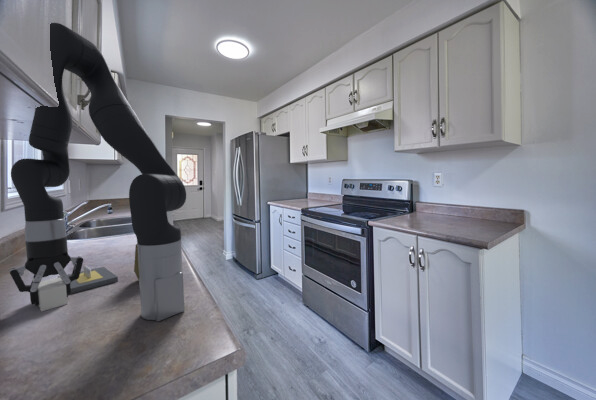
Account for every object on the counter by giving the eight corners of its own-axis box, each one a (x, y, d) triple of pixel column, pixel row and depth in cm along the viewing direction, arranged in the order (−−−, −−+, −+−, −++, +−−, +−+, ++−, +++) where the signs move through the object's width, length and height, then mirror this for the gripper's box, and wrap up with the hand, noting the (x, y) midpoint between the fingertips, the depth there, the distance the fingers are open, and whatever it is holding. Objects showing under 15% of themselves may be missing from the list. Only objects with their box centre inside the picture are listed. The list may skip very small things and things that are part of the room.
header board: (118, 281, 80) (117, 267, 79) (67, 294, 70) (66, 279, 70) (103, 270, 90) (103, 258, 89) (58, 281, 80) (56, 267, 80)
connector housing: (67, 304, 65) (65, 285, 64) (41, 311, 61) (39, 291, 61) (61, 294, 70) (59, 277, 70) (36, 300, 67) (35, 282, 66)
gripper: (4, 244, 57) (11, 316, 58) (85, 234, 68) (90, 295, 69) (3, 240, 61) (9, 307, 63) (79, 231, 73) (83, 288, 74)
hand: (51, 300), depth 66 cm, fingers closed on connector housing, 4 cm apart
